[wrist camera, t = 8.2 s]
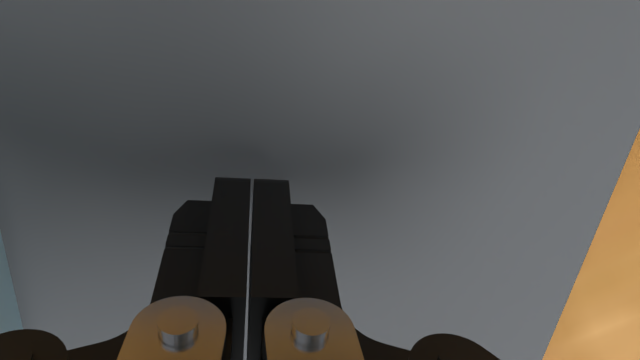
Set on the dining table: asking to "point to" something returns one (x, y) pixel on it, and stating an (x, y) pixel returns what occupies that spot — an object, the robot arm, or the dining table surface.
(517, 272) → the display board
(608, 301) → the dining table surface
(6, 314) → the carton
